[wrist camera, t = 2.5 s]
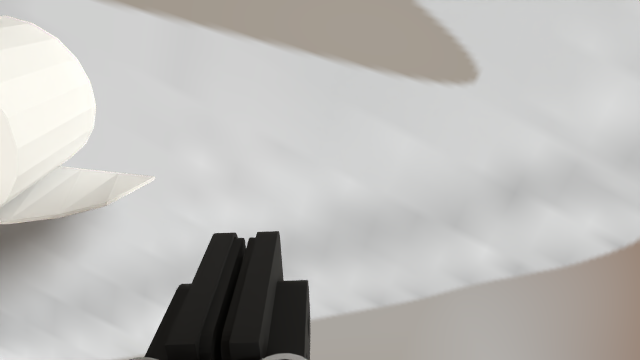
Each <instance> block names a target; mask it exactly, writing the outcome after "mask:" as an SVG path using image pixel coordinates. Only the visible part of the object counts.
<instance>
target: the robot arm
mask: <svg viewBox="0 0 640 360" xmlns="http://www.w3.org/2000/svg"><path fill="white" fill-rule="evenodd" d="M130 360H310V303H309V286H308V280H298V281H283V270H282V257H281V245H280V235H279V231H274V232H257V235H256V238H249V241H248V244H247V248H246V246H245V240H244V238H238V237H237V234H236V233H215V234H213V236H212V238H211V241H210V243H209V245H208V248H207V250H206V252H205V254H204V257H203V259H202V261H201V264H200V266H199V268H198V270H197V273H196V275H195V277H194V280H193V282H192V284H181V285H179V287H178V288H177V290H176V292H175V294H174V296H173V299H172V301H171V303H170V305H169V307H168V309H167V311H166V313H165V315H164V317H163V319H162V321H161V324H160V326H159V328H158V330H157V332H156V334H155V336H154V338H153V340H152V342H151V344H150V346H149V349H148V351H147V353H146V355H145V357H143V358H134V359H130Z"/></svg>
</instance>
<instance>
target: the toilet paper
mask: <svg viewBox="0 0 640 360" xmlns="http://www.w3.org/2000/svg"><path fill="white" fill-rule="evenodd" d="M95 112H96V103H95V99H94V95H93V91H92V86H91V82H90V80H89V78H88V77H87V75H86V73H85V71H84V70H83V68H82V66H81V64H80V63H79V61H78V59H77V58H76V57H75V56H74V55H73V54H72V53H71V52H70V51H69V50H68V49H67V48H66V47H65V46H64V44H63V43H62V42H61V41H60V40H59V39H58V38H56V37H55V36H53V35H51V34H50V33H48V32H46V31H45V30H43V29H41V28H40V27H38V26H37V25H35V24H33V23H30V22H27V21H23V20H20V19H16V18H13V17H9V16H0V224H14V223H22V222H30V221H38V220H46V219H54V218H61V217H65V216H69V215H73V214H76V213H80V212H84V211H88V210H92V209H96V208H100V207H104V206H107V205H109V204H111V203H113V202H115V201H117V200H118V199H120V198H122V197H124V196H126V195H128V194H130V193H131V192H133V191H135V190H137V189H139V188H141V187H142V186H144V185H146V184H148V183H150V182H152V181H154V180H155V177H153V176H144V175H135V174H126V173H116V172H107V171H98V170H89V169H80V168H71V167H62V166H60V165H62V164H63V163H64V162H66V161H67V160H69V159H70V158H71V157H72V156H73V155H75V154H76V153H77V152H78V151H79V150H80V149H81V148H83V147H84V146H85V145H86V143H87V141H88V139H89V136H90V134H91V132H92V130H93V128H94V123H95Z"/></svg>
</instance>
